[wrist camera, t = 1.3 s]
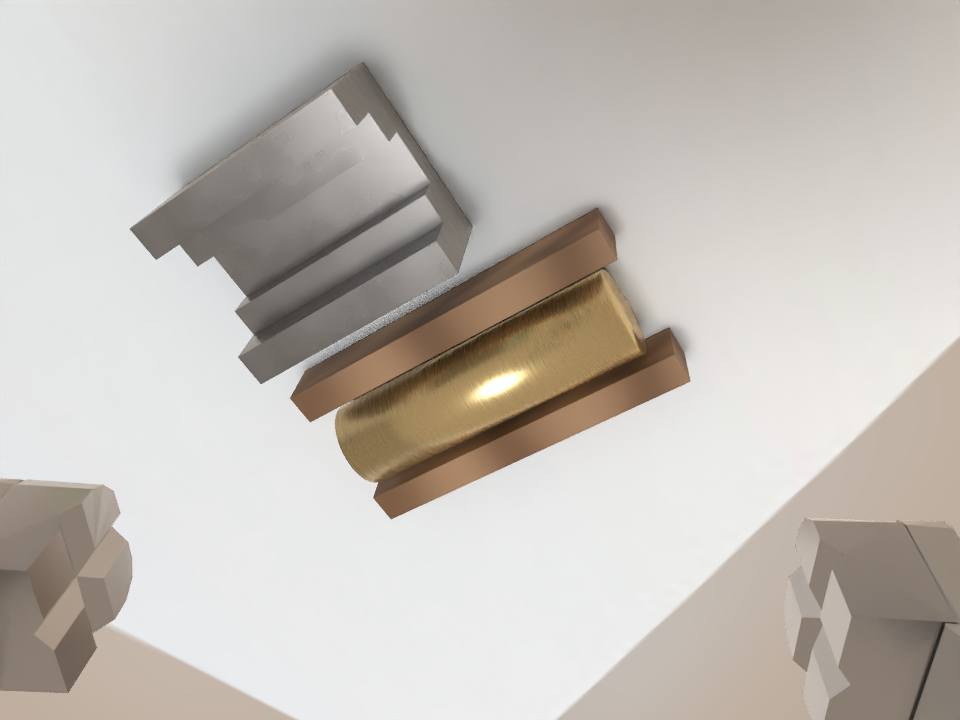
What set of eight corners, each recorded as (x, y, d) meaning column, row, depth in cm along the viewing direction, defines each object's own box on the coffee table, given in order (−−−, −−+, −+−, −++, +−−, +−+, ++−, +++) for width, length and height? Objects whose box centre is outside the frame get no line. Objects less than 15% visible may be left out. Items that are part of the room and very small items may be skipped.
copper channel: (597, 207, 36) (598, 228, 34) (684, 353, 39) (690, 381, 37) (305, 370, 41) (290, 398, 39) (400, 487, 44) (391, 519, 42)
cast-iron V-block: (362, 62, 34) (331, 88, 30) (472, 226, 37) (458, 273, 32) (181, 188, 37) (129, 228, 33) (295, 329, 40) (261, 384, 36)
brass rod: (599, 255, 37) (601, 293, 34) (643, 326, 39) (649, 370, 35) (347, 390, 42) (326, 436, 38) (394, 449, 43) (377, 498, 40)
